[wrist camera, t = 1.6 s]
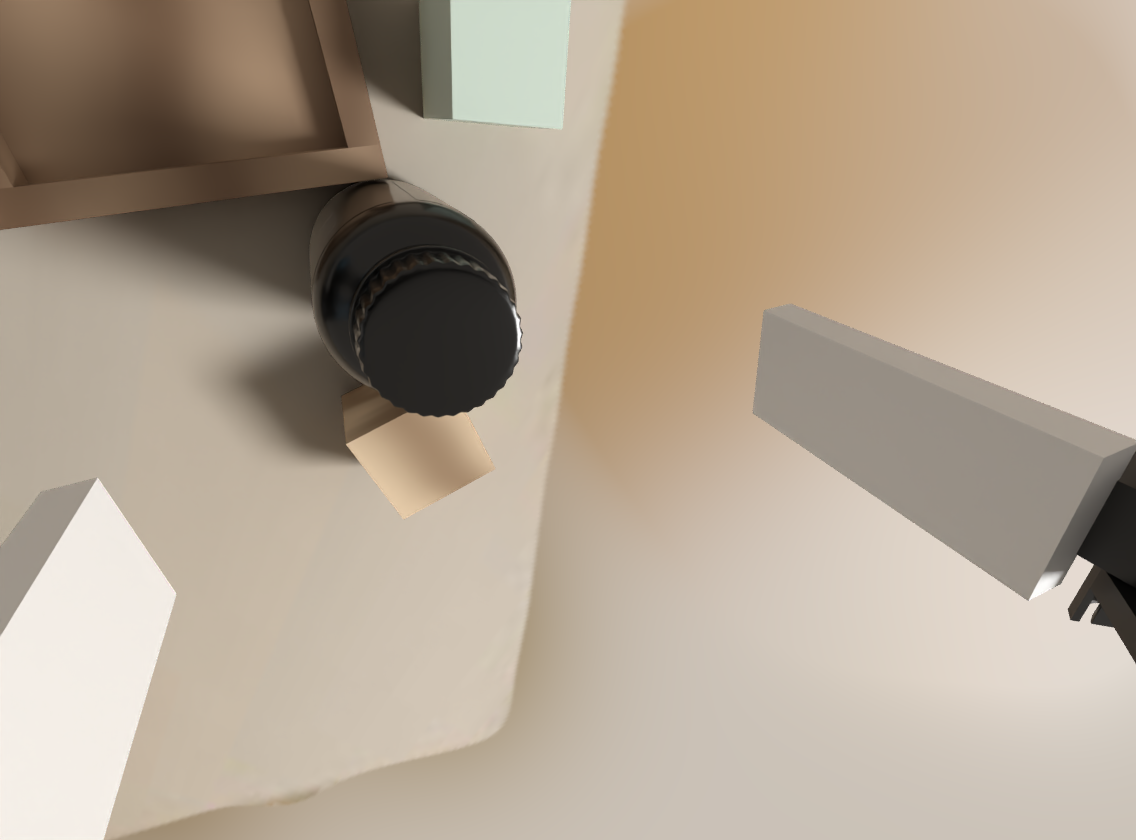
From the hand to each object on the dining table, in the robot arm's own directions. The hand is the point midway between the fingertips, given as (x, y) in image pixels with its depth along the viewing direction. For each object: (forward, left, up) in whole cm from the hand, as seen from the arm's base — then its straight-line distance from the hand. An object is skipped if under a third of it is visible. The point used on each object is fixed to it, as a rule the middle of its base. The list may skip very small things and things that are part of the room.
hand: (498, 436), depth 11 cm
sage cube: (+5, +7, -17) cm, 19 cm away
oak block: (-1, -8, -17) cm, 19 cm away
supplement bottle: (0, 0, -18) cm, 18 cm away
